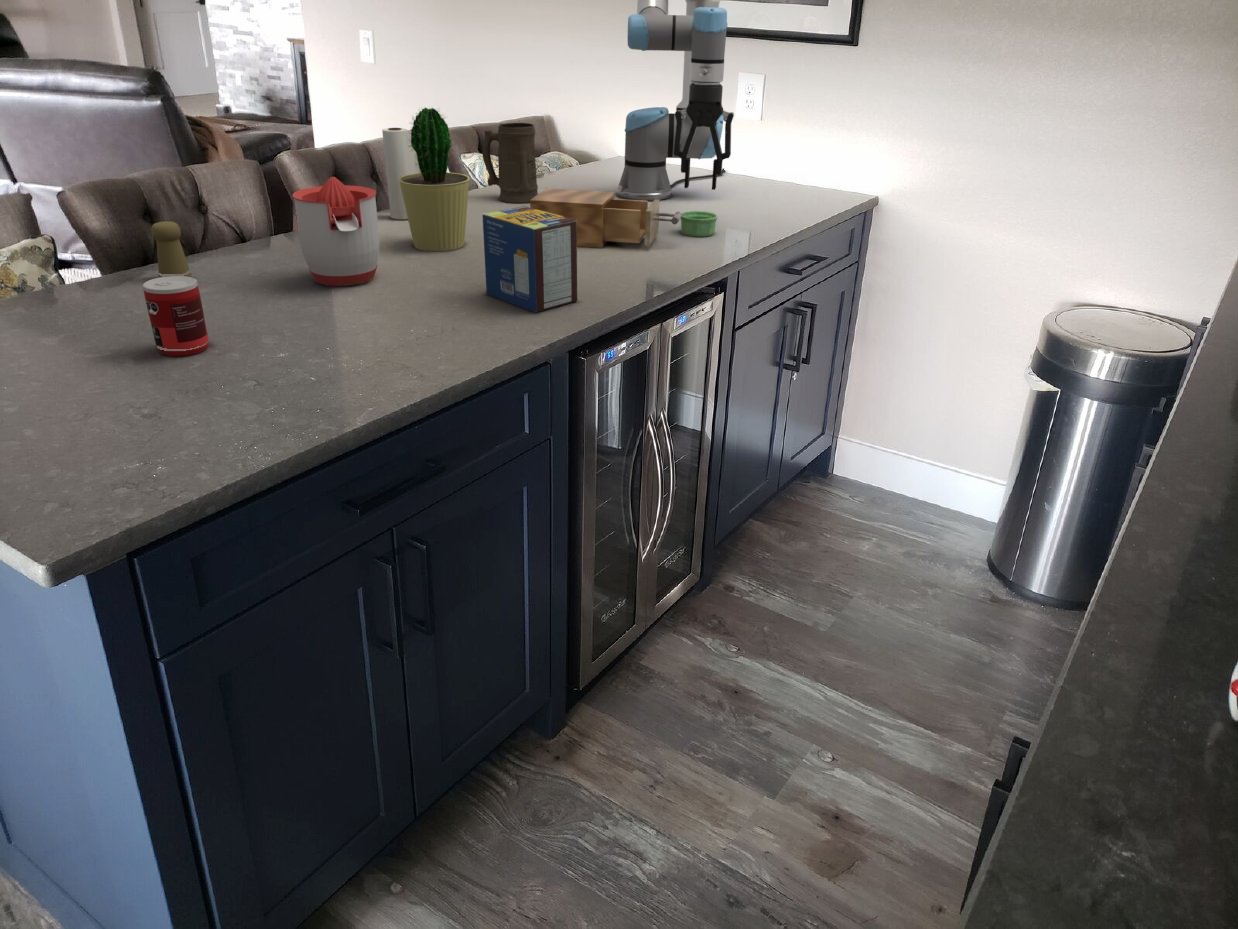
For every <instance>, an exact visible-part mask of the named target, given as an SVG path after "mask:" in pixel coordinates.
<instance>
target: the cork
mask: <svg viewBox="0 0 1238 929" xmlns="http://www.w3.org/2000/svg"><path fill="white" fill-rule="evenodd" d="M150 231H151V232H150V233H151V235H152V238H153V239H154V241H156V253H157V255H156V256H157V266H158V278H160V277H162V276H160V275H159V273H161V274H183V273H186V272H187V271H189V270H190V269H191V268H190V266H189V262H188V261H187V258H186V255H185V251H184V249H183V246H182V243H181V241H180V238H181V234H182V232H181V228H180V225H179V224H178V223H177V222H174V221H167V220H166V221H159V222H155V223H153V224H152V225H151V228H150ZM184 276H186V277H191V278H193V275H192V272H191V270H190V273H189V274H187V275H184Z"/></svg>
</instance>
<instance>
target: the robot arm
mask: <svg viewBox="0 0 1238 929" xmlns="http://www.w3.org/2000/svg"><path fill="white" fill-rule="evenodd" d="M721 1H722V0H685V3H686V5H685V6H686V8H685V14H684V15H683V14H679V15H677V14H669V0H637V1H636V3H637V4H636V5H637V6H636V14H635V13H633V14H630V15H628V17H627V18H628V19H627V47H628V48H629V49H630V50H637V51H642V52H647V51H663V52H664V51H666V52H667V51H668V52H669V51H671V52H683V75H682V96H681V101H679V103H678V104H677V105H676V107H675V112H674V113H671V112H670V113H669V109H668V107H665V106H660V107H659V106H653V107H645V108H640V109H639V108H638V109H635V110H632V111H630V112H629V113H627V114H626V117H625V126H624V132H625V136H624V167H623V170H622V174H621V177H620V180H619V183H618V186H617V196H618V197H619V198H621V199H626V200H643V201H648V202H649V201H652V202H653V201H654V200H655V199H656V200H660V201H661V200H662V201H663V200H667V199H670V198H671V197H672V188H674V187H675V186H676V185H677V184H680V183H683V182H684V186H683V187H684V189H688V188H689V187H690V181H692V180H700V179H701V180H702V179H707V178H712V179H711V190H714V191H716V188H717V178H718V177H720V176H722V175H724V173H726V169H725V168H724V167H723V161H724V160H726V159H729V158H730V157H731V155H732V122H733V120H734V118H735V113H734V112H732V111H727V110H724V107H723V90H724V88H723V87H724V86H723V84H721V83H723V82H724V74H725V53H726V41H727V28H728V24H729V23H728V11H727V9H726V8H724V7H720V3H721ZM724 122H725V124H724ZM723 125H724V126H723ZM723 127H724V128H723ZM723 129H724V152H723V151H722V150H723V149H722V146H721V140H722V134H723ZM715 157H716V158H715ZM713 158H714V159H713ZM667 159H680V173H682V174H684V178H681V179H678V180H675V181H674V182H673V183H672V184H671V183H670V179H669V175H668V171H667ZM691 159H697V160H701V159H705V160H706V159H713V163H712V164H713V165H712V174H706V175H699V176H690V174H691V173H690V172H691ZM724 169H725V170H724Z"/></svg>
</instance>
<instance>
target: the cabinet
mask: <svg viewBox="0 0 1238 929" xmlns="http://www.w3.org/2000/svg"><path fill="white" fill-rule="evenodd" d="M615 194H616V193H615V192H614V191H613V192H612V191H597V190H582V189H566V188H565V189H563V188H550V187H549V188H548V187H547V188H546V187H545V188H544V189H543V190H542V191H540V192H539V193H538V195H536V196H535V197H534V198H532V199H531V200H530V202H529V208H533V209H537V210H541V211H545V212H548V213H552V214H556V215H560V216H564V217H568V218H572V219H576V220H577V247H583V248H596V249H597V248H598V249H602V248H604V246H605V245H607V243H608V241H603V207H604V206H605V205H606V204H607V203H608V202H609V201H610V200H611V199H615Z"/></svg>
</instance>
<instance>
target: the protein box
mask: <svg viewBox="0 0 1238 929" xmlns="http://www.w3.org/2000/svg"><path fill="white" fill-rule="evenodd" d="M482 232H483V251H484V252H483V254H484V269H485V270H484V272H485V273H484V274H485V293H486V294H487V295H489V296H491V297H493V298H497V299H498V300H502V301H504V302H506V303H510V304H513V305H515V306H518V307H520V308H523V309H526V310H528V311H531V312H533V313H539V312H542V311H546V310H551V309H553V308H557V307H560V306H565V305H568V304H572V303H575V302H578V246H577V220H576V219H572V218H568V217H564V216H560V215H556V214H552V213H548V212H545V211H541V210H537V209H533V208H530V206H525V205H524V206H523V205H522V206H518V207H517V206H516V207H512V208H508V209H502V210H501V209H500V210H497V211H491V212H484V213H482Z"/></svg>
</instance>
